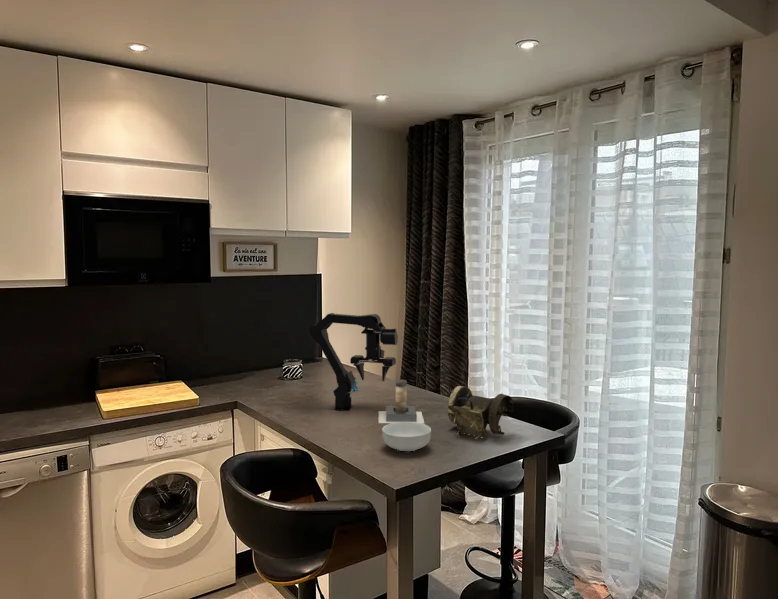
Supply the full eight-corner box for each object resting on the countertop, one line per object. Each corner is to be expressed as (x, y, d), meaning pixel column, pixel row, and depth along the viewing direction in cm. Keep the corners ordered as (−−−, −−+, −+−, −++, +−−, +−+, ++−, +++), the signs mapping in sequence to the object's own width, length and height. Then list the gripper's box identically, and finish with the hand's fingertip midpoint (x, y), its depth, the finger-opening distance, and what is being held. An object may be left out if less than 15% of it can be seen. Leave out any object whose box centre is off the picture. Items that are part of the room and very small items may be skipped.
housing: (386, 421, 218) (386, 414, 218) (385, 412, 230) (385, 405, 230) (416, 421, 219) (416, 414, 218) (414, 412, 231) (414, 405, 230)
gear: (345, 390, 262) (338, 373, 267) (338, 397, 265) (332, 380, 270) (363, 390, 269) (356, 373, 274) (356, 397, 272) (349, 380, 277)
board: (378, 424, 216) (378, 422, 216) (378, 412, 232) (378, 411, 232) (424, 424, 217) (424, 423, 217) (421, 413, 233) (421, 411, 233)
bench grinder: (469, 411, 224) (457, 371, 216) (520, 420, 210) (508, 377, 202) (445, 444, 211) (431, 403, 203) (497, 456, 197) (484, 412, 189)
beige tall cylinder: (395, 418, 222) (396, 382, 221) (395, 415, 227) (395, 379, 225) (406, 418, 222) (407, 382, 221) (405, 415, 227) (406, 379, 226)
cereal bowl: (415, 437, 202) (415, 418, 201) (440, 452, 187) (440, 432, 187) (373, 444, 194) (373, 424, 193) (396, 460, 179) (396, 439, 179)
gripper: (399, 342, 237) (400, 378, 238) (359, 340, 243) (359, 375, 245) (391, 346, 227) (391, 383, 228) (349, 344, 233) (350, 380, 234)
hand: (373, 380), depth 234 cm, fingers open, 9 cm apart
